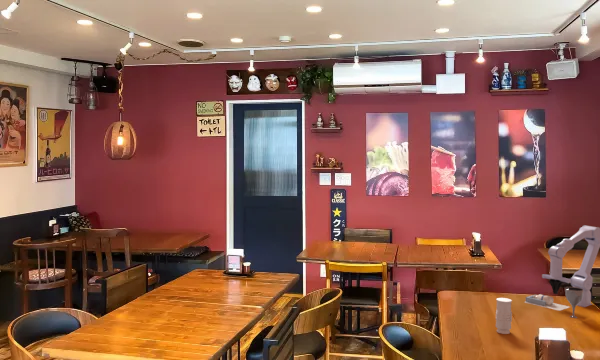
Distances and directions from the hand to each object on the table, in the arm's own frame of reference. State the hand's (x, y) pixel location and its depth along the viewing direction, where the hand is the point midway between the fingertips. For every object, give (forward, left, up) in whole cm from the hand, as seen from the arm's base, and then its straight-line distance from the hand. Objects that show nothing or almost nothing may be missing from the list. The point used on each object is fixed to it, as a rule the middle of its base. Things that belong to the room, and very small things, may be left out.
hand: (555, 293), depth 280 cm
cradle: (0, -5, -8) cm, 9 cm away
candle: (+59, +6, -8) cm, 60 cm away
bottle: (0, -2, -5) cm, 5 cm away
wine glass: (+11, +15, -8) cm, 20 cm away
